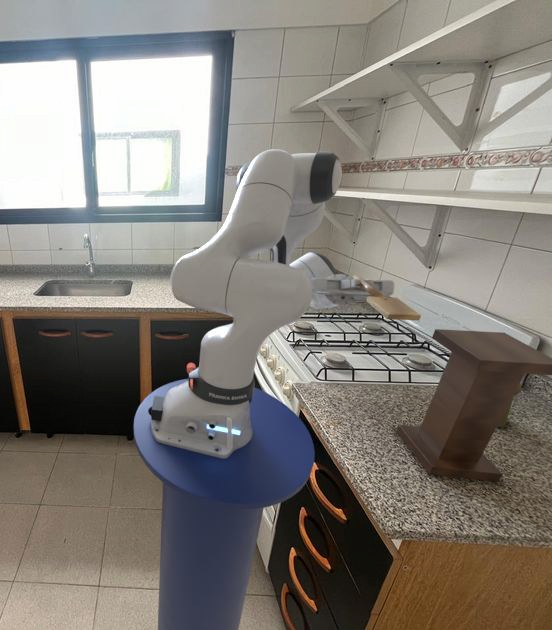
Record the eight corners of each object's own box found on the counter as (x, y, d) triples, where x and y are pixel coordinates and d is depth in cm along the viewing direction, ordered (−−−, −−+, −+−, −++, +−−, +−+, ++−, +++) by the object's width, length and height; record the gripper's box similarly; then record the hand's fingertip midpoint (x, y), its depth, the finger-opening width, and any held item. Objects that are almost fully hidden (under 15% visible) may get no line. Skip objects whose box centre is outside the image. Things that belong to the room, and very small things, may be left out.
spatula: (387, 319, 70) (389, 312, 69) (341, 279, 90) (342, 274, 89) (419, 320, 69) (422, 313, 69) (365, 280, 89) (367, 274, 89)
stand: (429, 474, 68) (481, 360, 57) (396, 431, 78) (435, 328, 68) (498, 481, 66) (566, 365, 55) (455, 436, 77) (504, 332, 66)
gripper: (299, 278, 100) (319, 268, 86) (375, 280, 97) (408, 271, 84) (299, 299, 100) (319, 293, 86) (375, 302, 97) (408, 297, 83)
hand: (364, 282), depth 85 cm, fingers closed on spatula, 1 cm apart
